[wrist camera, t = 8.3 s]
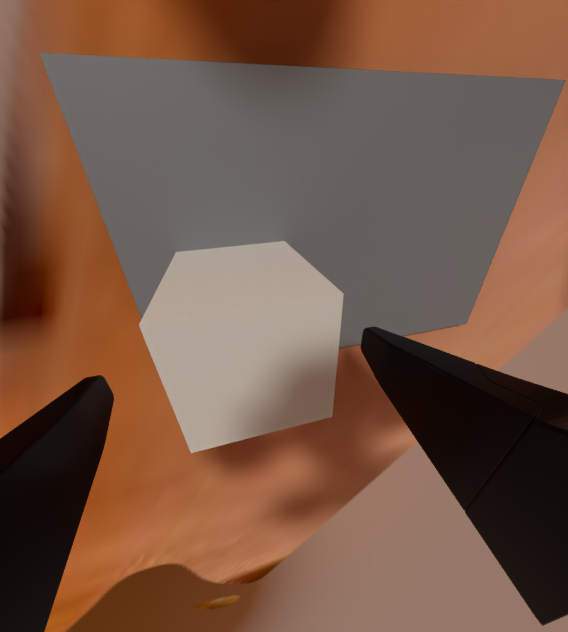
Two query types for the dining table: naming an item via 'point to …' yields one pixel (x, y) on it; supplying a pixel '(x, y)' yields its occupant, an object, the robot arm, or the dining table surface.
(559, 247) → the dining table surface
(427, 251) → the board
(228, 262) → the white rectangular block
